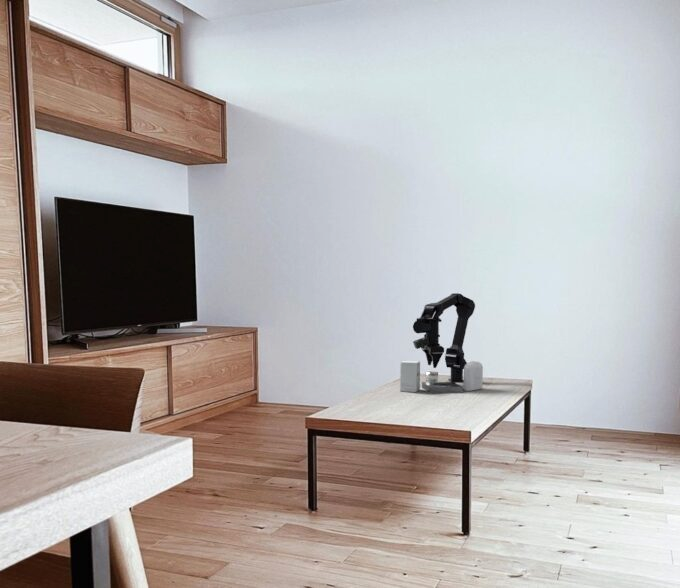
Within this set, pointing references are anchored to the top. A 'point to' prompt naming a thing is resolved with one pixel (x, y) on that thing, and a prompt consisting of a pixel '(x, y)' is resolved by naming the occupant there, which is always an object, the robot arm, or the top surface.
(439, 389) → the mount plate
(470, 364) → the photo printer
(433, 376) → the lens
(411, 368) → the supplement box
